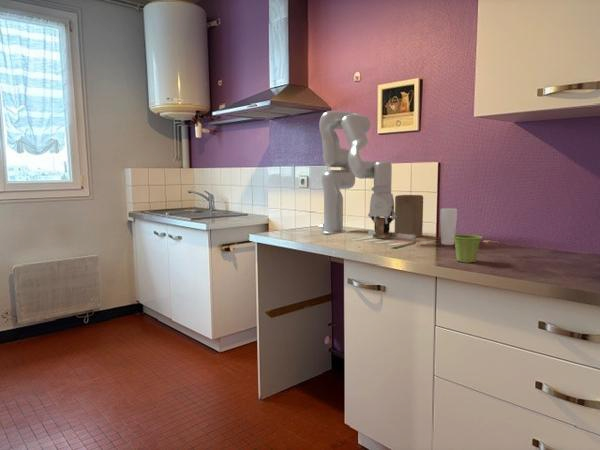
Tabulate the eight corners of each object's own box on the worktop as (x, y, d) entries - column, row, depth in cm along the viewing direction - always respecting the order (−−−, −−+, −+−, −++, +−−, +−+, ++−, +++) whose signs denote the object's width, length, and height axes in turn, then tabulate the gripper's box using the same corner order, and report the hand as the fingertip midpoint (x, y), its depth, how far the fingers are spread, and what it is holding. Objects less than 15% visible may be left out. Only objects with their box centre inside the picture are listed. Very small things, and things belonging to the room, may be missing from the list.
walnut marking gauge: (372, 237, 193) (373, 218, 192) (379, 236, 196) (379, 217, 195) (384, 238, 189) (384, 218, 188) (390, 237, 192) (391, 218, 191)
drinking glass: (458, 245, 182) (459, 209, 180) (442, 245, 182) (443, 209, 180) (452, 243, 189) (453, 208, 187) (436, 243, 189) (438, 208, 187)
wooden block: (414, 241, 194) (415, 196, 192) (393, 239, 200) (394, 195, 198) (423, 238, 202) (424, 195, 200) (402, 236, 208) (403, 194, 206)
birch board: (349, 243, 190) (349, 233, 190) (370, 238, 202) (370, 230, 202) (396, 248, 175) (396, 239, 174) (415, 244, 187) (415, 234, 186)
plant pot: (452, 257, 156) (453, 233, 155) (480, 259, 153) (481, 235, 152) (450, 263, 147) (451, 237, 146) (481, 265, 144) (482, 238, 143)
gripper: (361, 190, 193) (361, 231, 195) (395, 191, 182) (394, 234, 184) (371, 189, 199) (370, 229, 201) (404, 190, 187) (403, 233, 189)
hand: (381, 231), depth 192 cm, fingers closed on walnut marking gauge, 4 cm apart
